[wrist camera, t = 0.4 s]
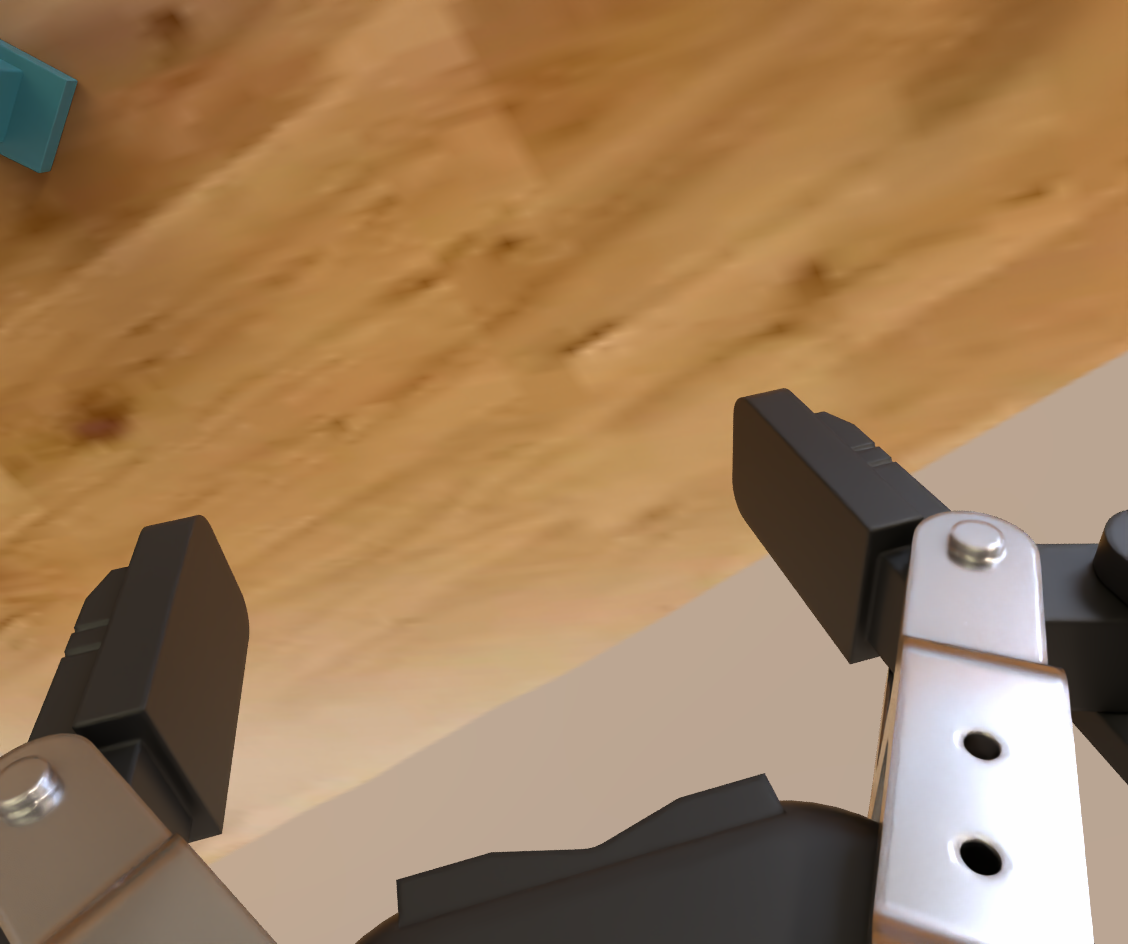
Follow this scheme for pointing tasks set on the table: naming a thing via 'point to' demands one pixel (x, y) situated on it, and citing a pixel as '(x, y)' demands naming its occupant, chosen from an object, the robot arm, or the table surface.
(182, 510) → the table surface
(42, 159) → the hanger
